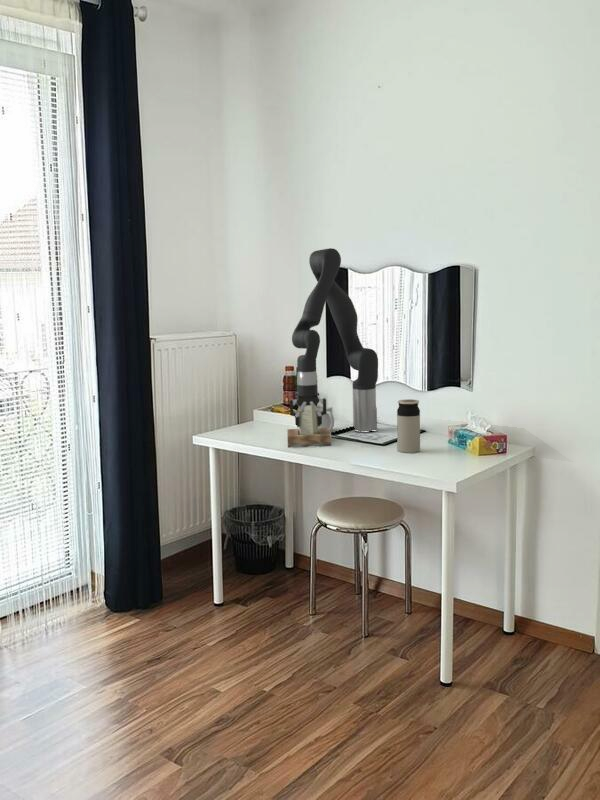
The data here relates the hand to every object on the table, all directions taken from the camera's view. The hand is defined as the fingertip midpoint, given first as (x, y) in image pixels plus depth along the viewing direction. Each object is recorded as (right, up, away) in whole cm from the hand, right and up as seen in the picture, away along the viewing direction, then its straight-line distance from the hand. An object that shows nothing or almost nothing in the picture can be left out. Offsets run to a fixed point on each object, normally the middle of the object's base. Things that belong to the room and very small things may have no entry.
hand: (308, 426), depth 302 cm
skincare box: (0, -4, +1) cm, 4 cm away
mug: (+6, -3, +20) cm, 21 cm away
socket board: (0, -6, +1) cm, 6 cm away
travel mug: (+35, -8, -17) cm, 40 cm away
